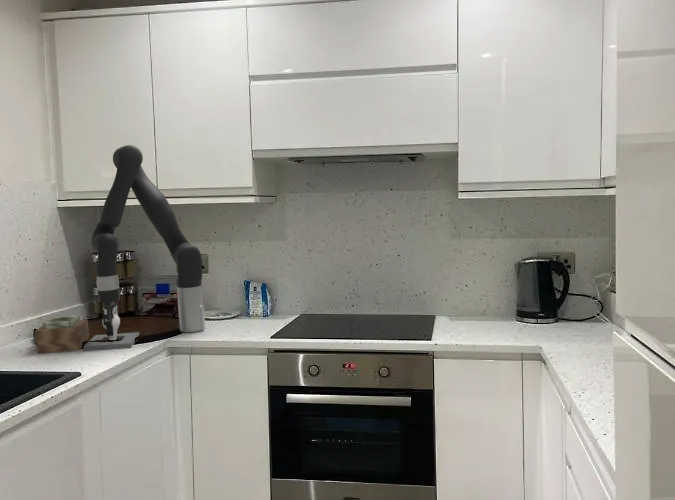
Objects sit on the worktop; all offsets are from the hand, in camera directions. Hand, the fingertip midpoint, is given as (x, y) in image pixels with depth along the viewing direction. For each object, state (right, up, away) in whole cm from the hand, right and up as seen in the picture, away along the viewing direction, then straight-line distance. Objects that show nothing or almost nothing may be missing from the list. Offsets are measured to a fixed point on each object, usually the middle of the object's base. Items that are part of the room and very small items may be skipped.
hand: (112, 333), depth 236 cm
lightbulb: (0, -4, +1) cm, 4 cm away
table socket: (0, -4, 0) cm, 4 cm away
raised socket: (-17, -5, -1) cm, 17 cm away
